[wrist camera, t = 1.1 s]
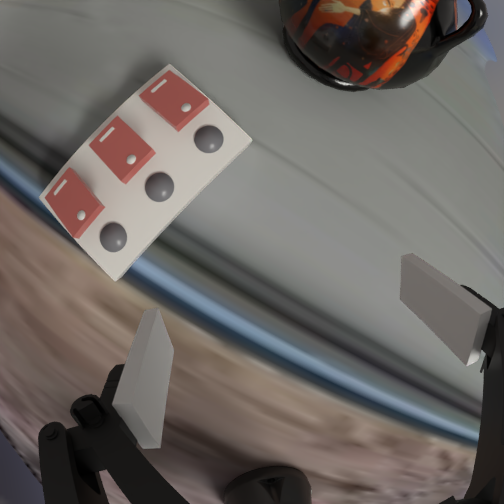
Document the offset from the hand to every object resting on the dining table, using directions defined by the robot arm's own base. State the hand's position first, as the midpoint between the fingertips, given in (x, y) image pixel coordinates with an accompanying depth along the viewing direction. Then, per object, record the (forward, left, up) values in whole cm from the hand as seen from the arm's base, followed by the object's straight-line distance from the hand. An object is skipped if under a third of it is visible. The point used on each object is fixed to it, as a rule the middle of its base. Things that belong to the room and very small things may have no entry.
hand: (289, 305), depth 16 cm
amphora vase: (+32, +11, -22) cm, 40 cm away
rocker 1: (-8, +17, -19) cm, 26 cm away
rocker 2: (0, +17, -19) cm, 25 cm away
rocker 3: (+7, +17, -19) cm, 26 cm away
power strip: (0, +15, -22) cm, 27 cm away
